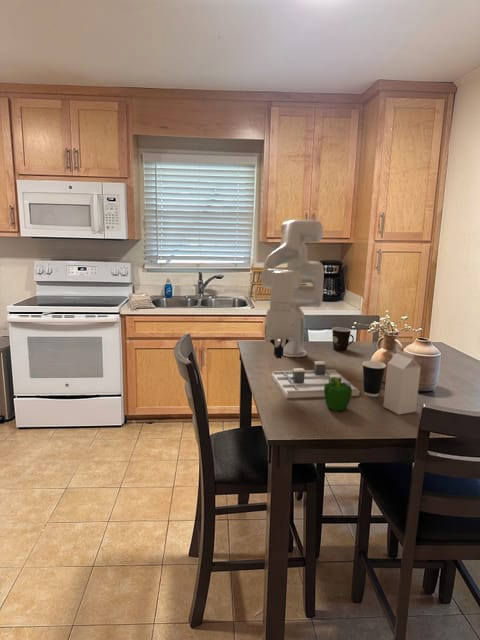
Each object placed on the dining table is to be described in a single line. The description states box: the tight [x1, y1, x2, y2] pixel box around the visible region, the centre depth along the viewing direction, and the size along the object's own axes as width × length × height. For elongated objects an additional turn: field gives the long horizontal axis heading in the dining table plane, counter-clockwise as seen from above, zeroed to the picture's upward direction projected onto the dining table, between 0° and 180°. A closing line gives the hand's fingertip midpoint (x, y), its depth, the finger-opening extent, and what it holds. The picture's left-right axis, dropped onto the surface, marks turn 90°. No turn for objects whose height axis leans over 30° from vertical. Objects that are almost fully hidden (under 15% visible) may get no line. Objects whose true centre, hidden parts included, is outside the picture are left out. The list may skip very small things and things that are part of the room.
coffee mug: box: [331, 326, 355, 353], centre depth 213 cm, size 12×9×10 cm
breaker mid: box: [292, 367, 305, 383], centre depth 163 cm, size 2×4×5 cm, turn 99°
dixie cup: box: [361, 360, 387, 397], centre depth 157 cm, size 8×8×11 cm
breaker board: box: [271, 369, 360, 399], centre depth 165 cm, size 22×26×2 cm
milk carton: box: [383, 349, 422, 415], centre depth 143 cm, size 7×7×19 cm
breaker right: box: [329, 374, 341, 383], centre depth 157 cm, size 2×4×5 cm, turn 99°
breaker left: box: [313, 360, 327, 375], centre depth 173 cm, size 2×4×5 cm, turn 99°
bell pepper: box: [324, 377, 352, 412], centre depth 144 cm, size 8×8×10 cm
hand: (278, 357), depth 160 cm, fingers closed
